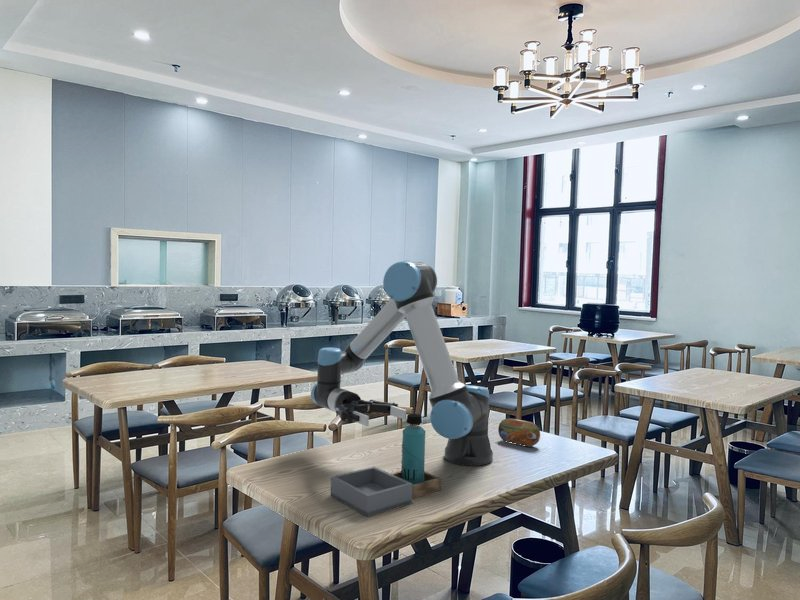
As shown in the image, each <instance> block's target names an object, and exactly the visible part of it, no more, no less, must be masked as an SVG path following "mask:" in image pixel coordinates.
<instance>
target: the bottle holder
mask: <svg viewBox="0 0 800 600" xmlns="http://www.w3.org/2000/svg"><path fill="white" fill-rule="evenodd" d="M390 474H392V475H394V476H397V477H399V478H401V476H402V473H401V470H399V471H395V472H391V473H390ZM424 475H425V478H424V482H421V483H417V484H414V485H413V487H412V499H414V498H418V497H420V496H425V495H428V494H431V493H435V492H437V491H441V490H442V485H443V484H442V481H443V480H442V478H441V477H439V476H437V475H434V474H432V473H429V472H427V471H425V470H424Z"/></svg>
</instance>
